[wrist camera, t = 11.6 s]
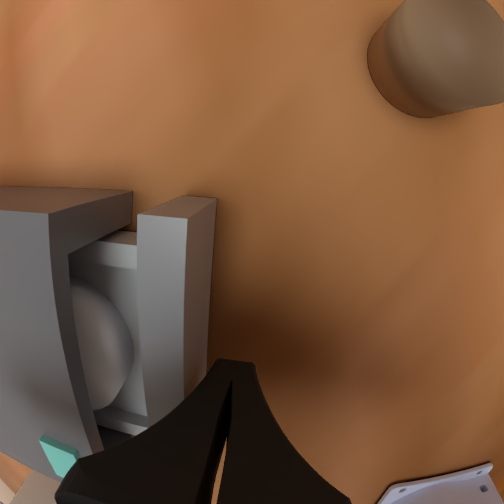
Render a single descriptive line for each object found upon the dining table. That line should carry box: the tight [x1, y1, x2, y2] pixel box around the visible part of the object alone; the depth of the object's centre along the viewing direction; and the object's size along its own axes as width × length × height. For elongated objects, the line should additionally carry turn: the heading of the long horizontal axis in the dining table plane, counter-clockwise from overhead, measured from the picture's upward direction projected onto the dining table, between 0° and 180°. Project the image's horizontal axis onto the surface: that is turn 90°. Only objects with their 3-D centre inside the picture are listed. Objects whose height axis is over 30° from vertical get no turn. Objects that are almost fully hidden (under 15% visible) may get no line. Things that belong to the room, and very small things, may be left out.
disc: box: [69, 275, 134, 410], centre depth 11 cm, size 6×6×2 cm
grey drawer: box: [68, 195, 217, 436], centre depth 11 cm, size 14×12×4 cm
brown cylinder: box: [367, 0, 504, 118], centre depth 8 cm, size 4×4×4 cm
